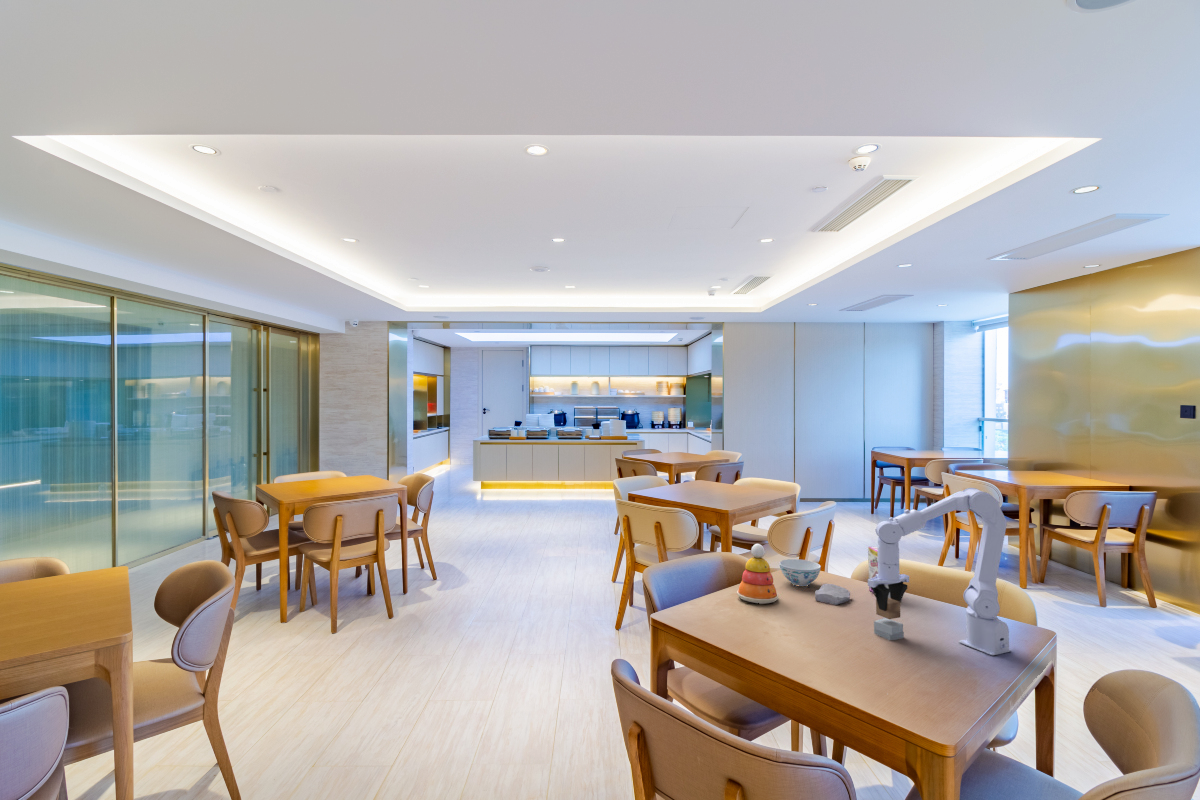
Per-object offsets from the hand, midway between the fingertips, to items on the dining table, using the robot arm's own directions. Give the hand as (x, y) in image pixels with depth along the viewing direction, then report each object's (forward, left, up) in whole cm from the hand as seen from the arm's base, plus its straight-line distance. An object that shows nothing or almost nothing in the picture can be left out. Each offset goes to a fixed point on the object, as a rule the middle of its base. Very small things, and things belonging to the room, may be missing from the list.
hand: (889, 608), depth 162 cm
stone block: (+31, -9, -8) cm, 33 cm away
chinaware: (+49, -10, -8) cm, 51 cm away
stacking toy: (+41, +16, -8) cm, 45 cm away
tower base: (0, 0, -8) cm, 9 cm away
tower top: (0, 0, -6) cm, 6 cm away
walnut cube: (0, 0, -2) cm, 2 cm away
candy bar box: (+27, -28, -8) cm, 40 cm away
